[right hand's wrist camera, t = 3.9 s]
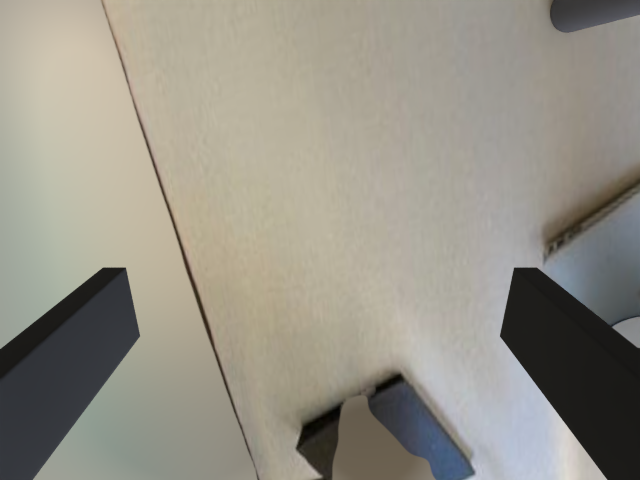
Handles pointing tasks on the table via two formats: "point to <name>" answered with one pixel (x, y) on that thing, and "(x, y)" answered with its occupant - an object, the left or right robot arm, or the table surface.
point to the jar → (590, 12)
